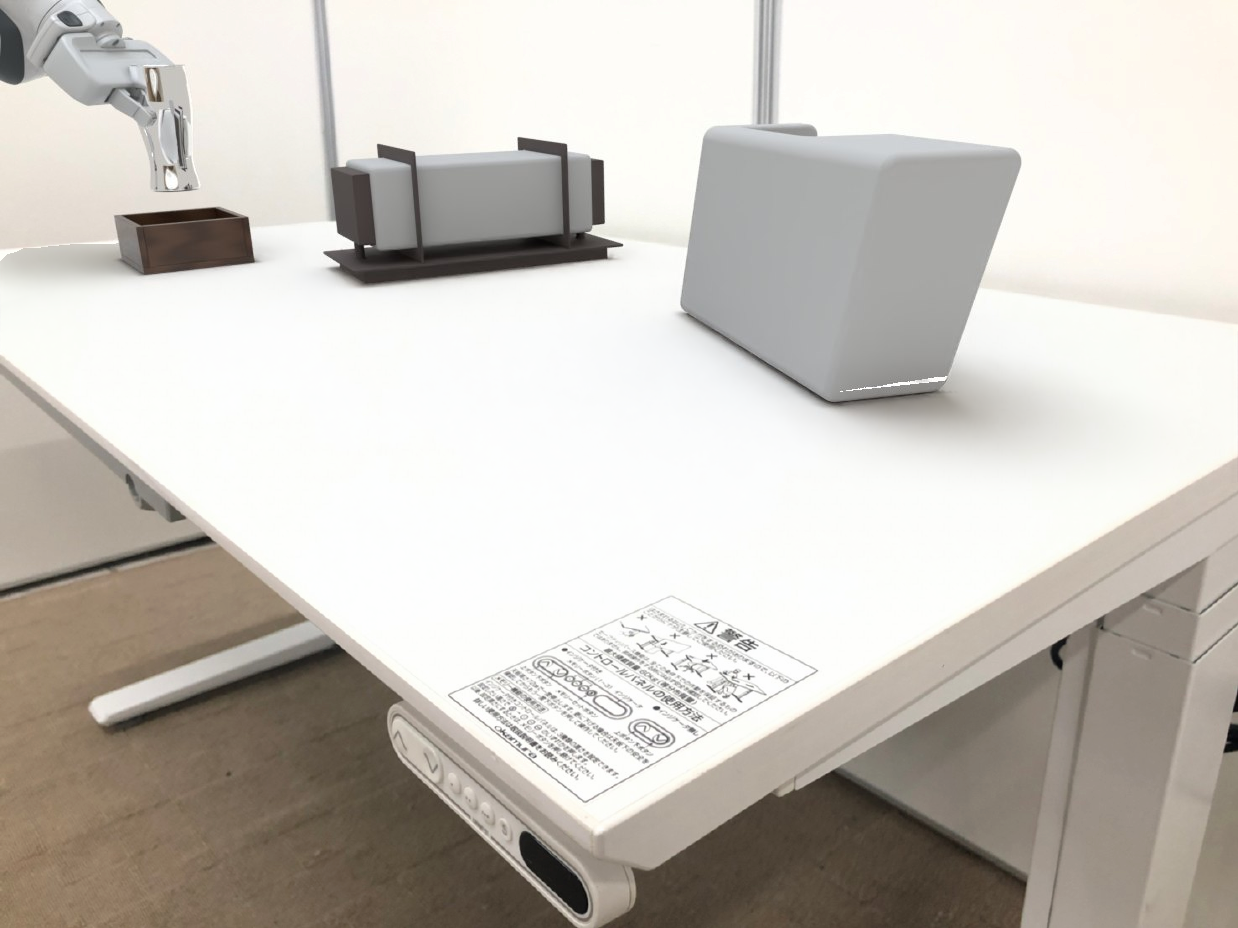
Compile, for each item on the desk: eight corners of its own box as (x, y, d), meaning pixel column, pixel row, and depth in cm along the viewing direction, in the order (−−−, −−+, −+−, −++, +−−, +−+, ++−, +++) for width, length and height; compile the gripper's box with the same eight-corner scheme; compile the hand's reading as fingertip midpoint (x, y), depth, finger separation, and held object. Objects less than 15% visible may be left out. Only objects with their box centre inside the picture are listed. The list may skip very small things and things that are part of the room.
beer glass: (161, 186, 139) (141, 65, 134) (213, 186, 139) (195, 64, 134) (137, 192, 133) (115, 65, 127) (192, 192, 133) (172, 65, 127)
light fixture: (622, 140, 130) (341, 155, 115) (624, 259, 135) (355, 288, 120) (570, 134, 143) (311, 146, 128) (573, 243, 148) (324, 267, 133)
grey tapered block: (909, 496, 87) (1030, 151, 68) (794, 512, 85) (886, 158, 65) (771, 302, 109) (833, -1, 90) (677, 309, 107) (720, -1, 87)
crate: (144, 274, 130) (135, 227, 128) (121, 259, 141) (113, 215, 139) (254, 262, 137) (248, 216, 135) (225, 248, 148) (219, 206, 146)
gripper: (123, 57, 142) (201, 133, 144) (15, 58, 123) (107, 145, 125) (147, 20, 139) (226, 98, 141) (41, 16, 121) (134, 106, 122)
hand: (169, 120), depth 133 cm, fingers closed on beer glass, 7 cm apart
